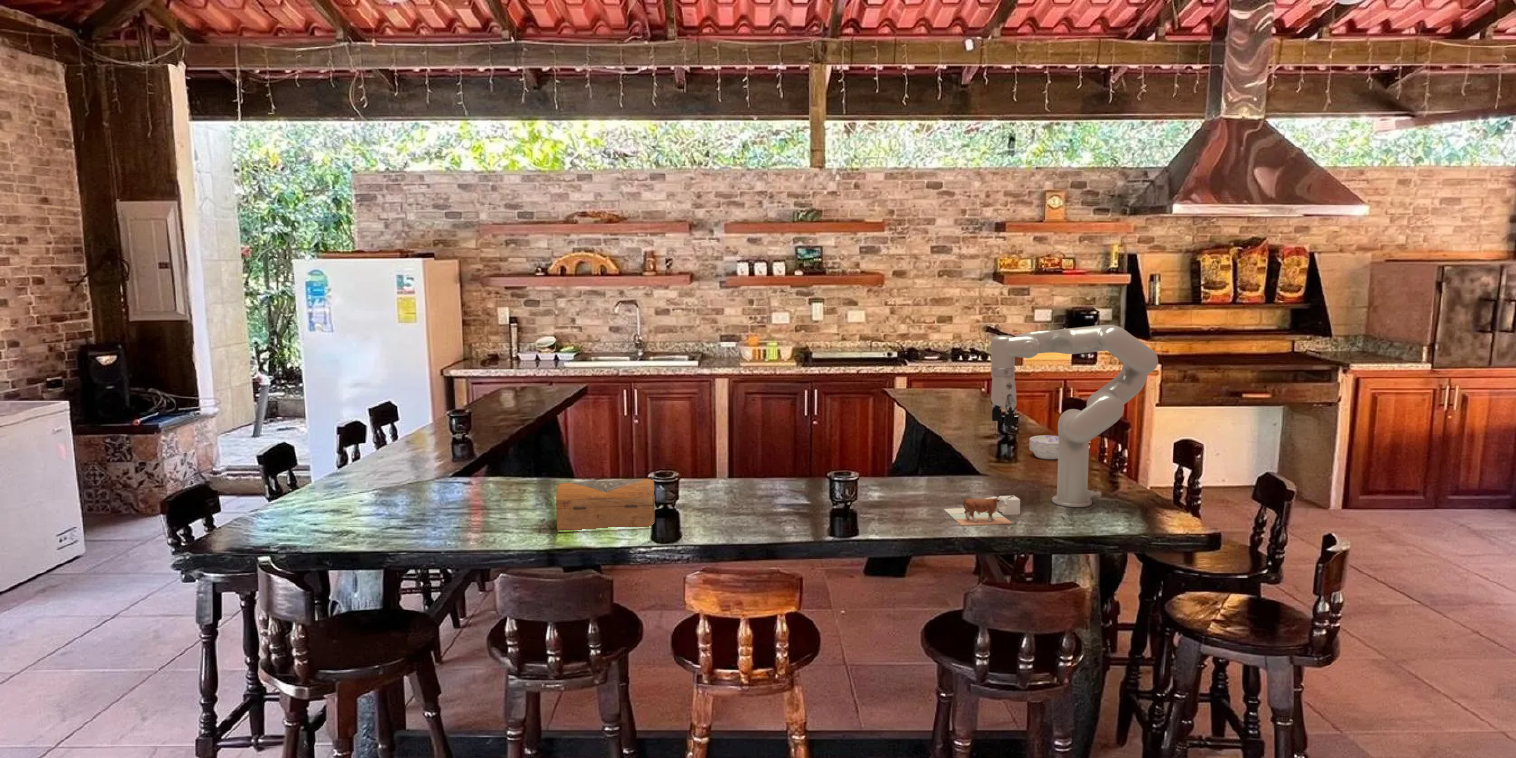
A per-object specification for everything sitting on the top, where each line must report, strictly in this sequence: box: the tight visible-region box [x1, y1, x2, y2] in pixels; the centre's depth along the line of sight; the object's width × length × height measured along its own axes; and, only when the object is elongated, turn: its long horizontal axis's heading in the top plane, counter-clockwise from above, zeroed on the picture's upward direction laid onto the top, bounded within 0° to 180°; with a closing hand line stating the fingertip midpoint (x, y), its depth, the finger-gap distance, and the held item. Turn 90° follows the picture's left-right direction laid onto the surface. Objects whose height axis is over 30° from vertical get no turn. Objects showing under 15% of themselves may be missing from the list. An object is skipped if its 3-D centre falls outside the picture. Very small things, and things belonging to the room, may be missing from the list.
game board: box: [943, 507, 1013, 527], centre depth 280 cm, size 16×18×1 cm
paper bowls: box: [1028, 434, 1059, 460], centre depth 362 cm, size 15×15×8 cm
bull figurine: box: [962, 495, 1007, 522], centre depth 273 cm, size 4×13×8 cm, turn 83°
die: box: [998, 495, 1021, 516], centre depth 284 cm, size 5×5×5 cm
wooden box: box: [555, 478, 656, 530], centre depth 277 cm, size 30×16×14 cm, turn 96°
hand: (1002, 423), depth 294 cm, fingers open, 9 cm apart
